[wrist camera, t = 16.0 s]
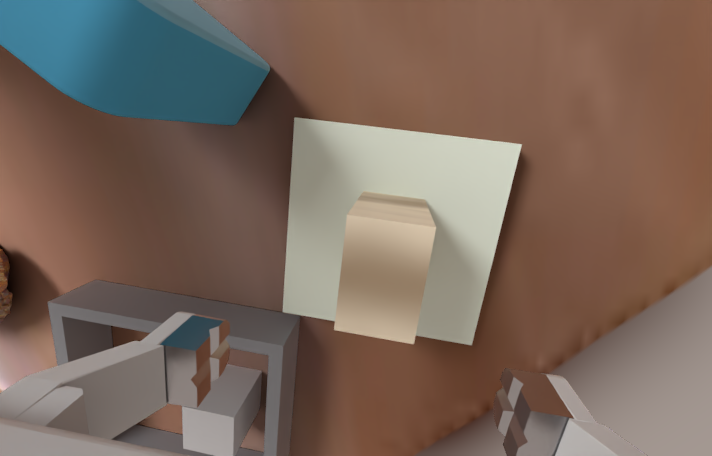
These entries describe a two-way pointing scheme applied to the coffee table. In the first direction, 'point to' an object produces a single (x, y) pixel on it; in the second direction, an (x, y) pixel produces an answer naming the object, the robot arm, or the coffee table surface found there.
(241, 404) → the grey box
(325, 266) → the board
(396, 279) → the birch box
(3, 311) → the mineral specimen
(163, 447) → the bin
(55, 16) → the data package
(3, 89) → the coffee table surface
